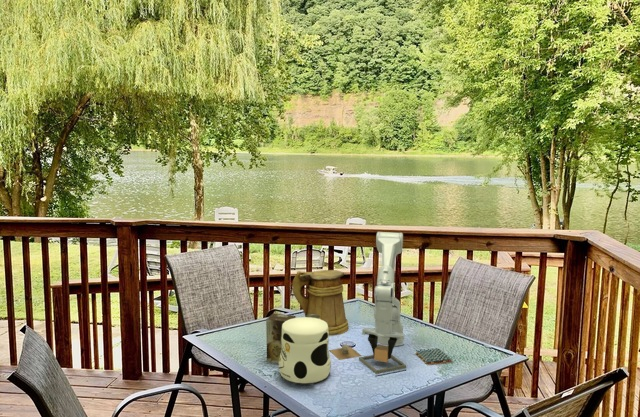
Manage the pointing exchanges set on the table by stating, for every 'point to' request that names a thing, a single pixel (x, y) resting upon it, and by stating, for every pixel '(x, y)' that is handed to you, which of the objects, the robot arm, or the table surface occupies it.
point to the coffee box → (275, 336)
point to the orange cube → (381, 353)
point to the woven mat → (433, 356)
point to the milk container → (304, 351)
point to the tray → (384, 368)
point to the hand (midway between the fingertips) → (382, 356)
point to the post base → (341, 356)
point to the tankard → (323, 297)
